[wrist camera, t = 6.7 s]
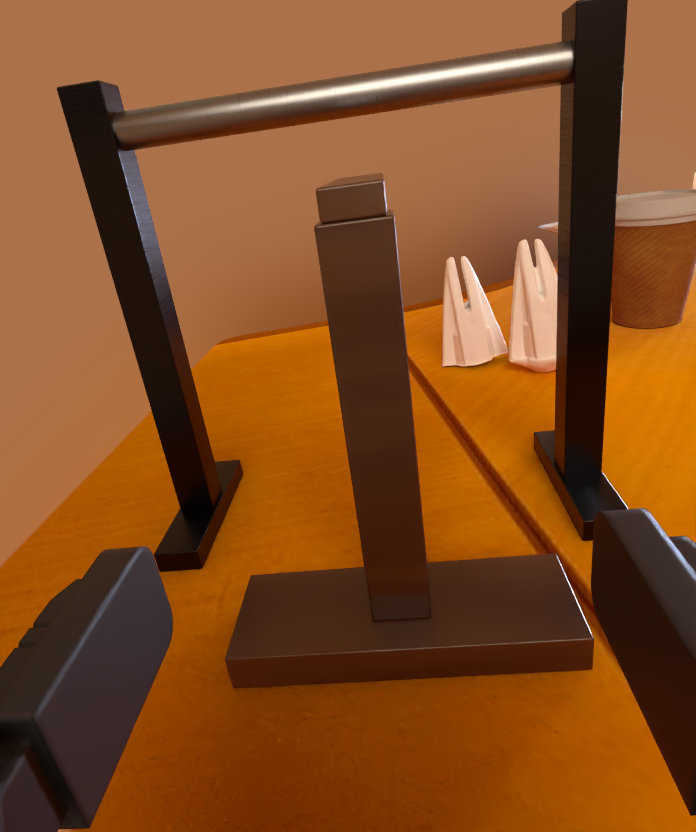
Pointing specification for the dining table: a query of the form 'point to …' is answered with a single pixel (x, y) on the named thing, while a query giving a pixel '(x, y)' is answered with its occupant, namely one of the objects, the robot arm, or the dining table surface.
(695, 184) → the cat figurine
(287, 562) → the dining table surface
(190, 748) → the dining table surface
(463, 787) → the dining table surface
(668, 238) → the disposable coffee cup
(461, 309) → the shaker set
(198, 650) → the dining table surface
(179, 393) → the rack
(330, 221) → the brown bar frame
